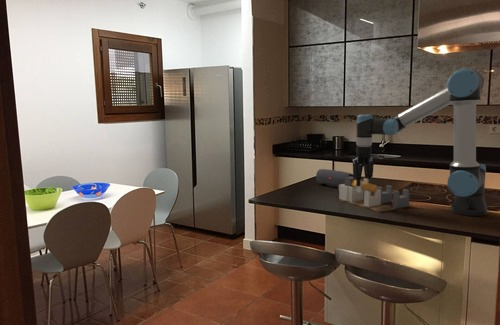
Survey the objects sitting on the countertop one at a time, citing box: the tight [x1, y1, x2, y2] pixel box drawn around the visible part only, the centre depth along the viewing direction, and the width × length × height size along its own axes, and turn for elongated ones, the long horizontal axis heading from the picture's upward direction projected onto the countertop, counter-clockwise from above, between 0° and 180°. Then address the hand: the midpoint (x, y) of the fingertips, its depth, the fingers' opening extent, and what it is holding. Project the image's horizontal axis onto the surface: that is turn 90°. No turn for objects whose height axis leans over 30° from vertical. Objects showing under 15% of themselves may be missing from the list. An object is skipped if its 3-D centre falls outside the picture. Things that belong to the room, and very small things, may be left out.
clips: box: [338, 184, 381, 207], centre depth 214 cm, size 22×9×7 cm, turn 29°
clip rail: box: [337, 198, 396, 214], centre depth 211 cm, size 30×10×1 cm, turn 29°
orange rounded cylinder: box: [345, 177, 379, 193], centre depth 212 cm, size 20×4×4 cm, turn 29°
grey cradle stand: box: [377, 184, 411, 209], centre depth 211 cm, size 14×8×8 cm, turn 29°
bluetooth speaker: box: [315, 168, 353, 189], centre depth 257 cm, size 23×9×10 cm, turn 42°
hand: (362, 191), depth 212 cm, fingers closed on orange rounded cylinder, 4 cm apart
